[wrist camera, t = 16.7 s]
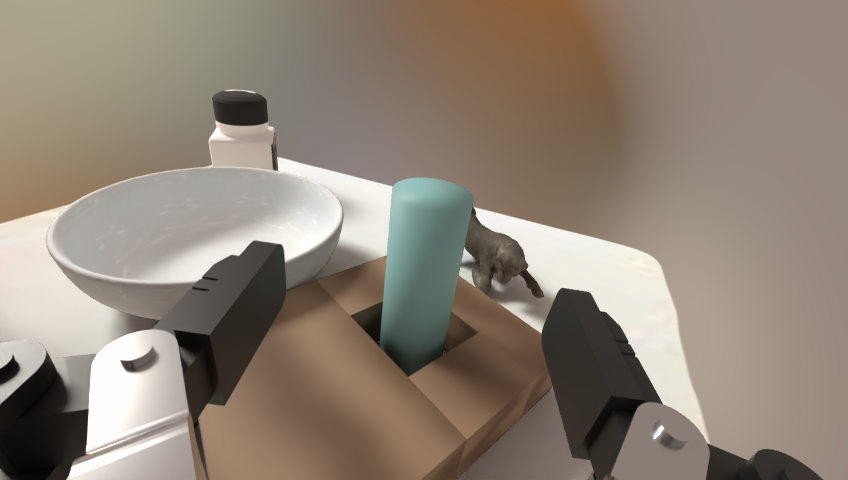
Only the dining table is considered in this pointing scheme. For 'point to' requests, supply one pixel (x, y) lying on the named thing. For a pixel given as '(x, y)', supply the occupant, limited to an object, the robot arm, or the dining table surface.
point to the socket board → (372, 390)
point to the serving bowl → (189, 232)
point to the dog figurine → (496, 257)
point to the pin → (422, 268)
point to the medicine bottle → (242, 131)
